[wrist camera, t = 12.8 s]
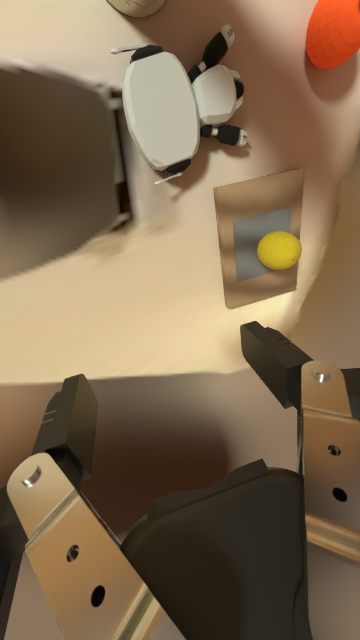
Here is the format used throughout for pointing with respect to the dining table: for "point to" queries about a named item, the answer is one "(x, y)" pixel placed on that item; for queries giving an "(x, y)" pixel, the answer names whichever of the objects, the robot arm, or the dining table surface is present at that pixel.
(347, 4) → the clementine
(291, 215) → the serving board
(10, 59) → the dining table surface
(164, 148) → the robot toy
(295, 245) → the lemon
